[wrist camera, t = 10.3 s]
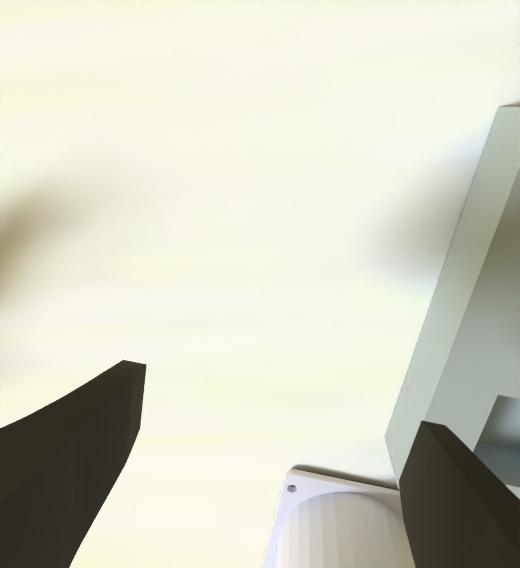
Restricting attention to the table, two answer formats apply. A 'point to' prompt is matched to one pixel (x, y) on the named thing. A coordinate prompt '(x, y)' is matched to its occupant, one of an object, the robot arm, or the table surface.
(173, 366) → the table surface
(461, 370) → the hole block
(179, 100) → the table surface
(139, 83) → the table surface
